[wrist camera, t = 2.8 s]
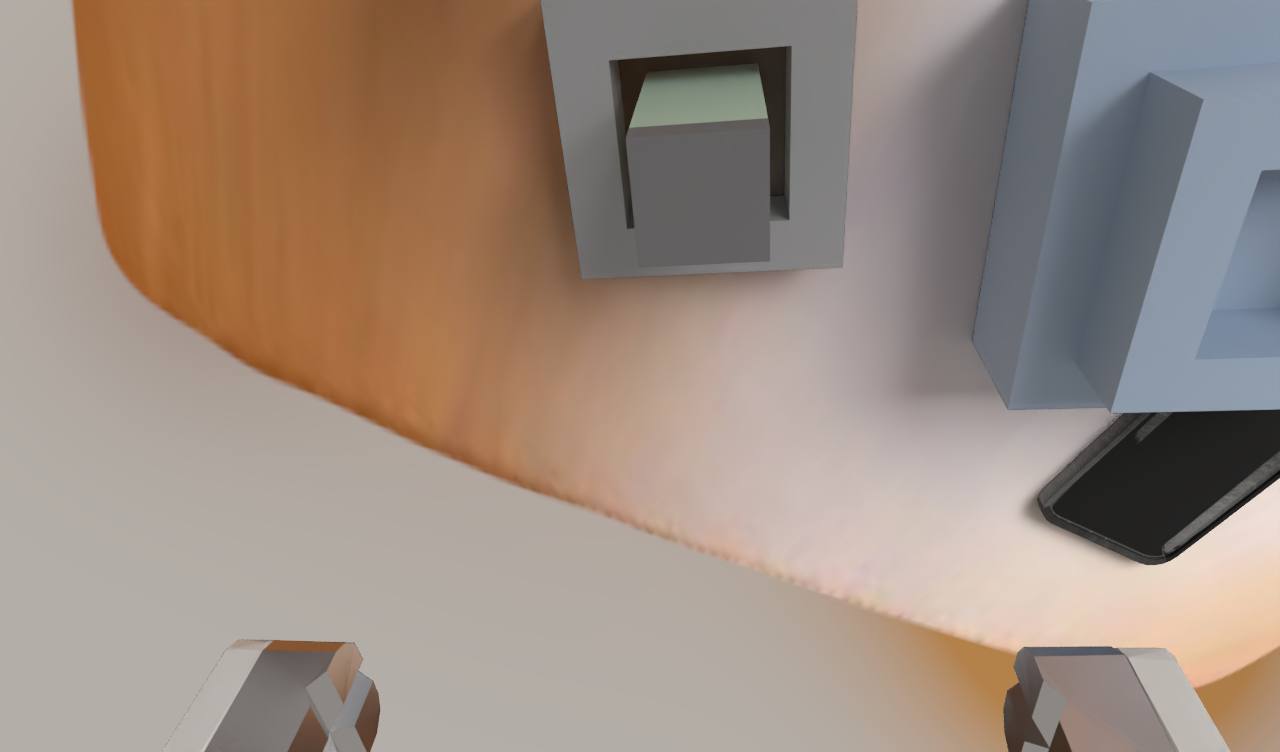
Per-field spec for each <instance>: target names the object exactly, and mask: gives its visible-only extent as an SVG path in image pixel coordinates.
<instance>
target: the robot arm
mask: <svg viewBox="0 0 1280 752" xmlns="http://www.w3.org/2000/svg"><path fill="white" fill-rule="evenodd" d="M362 661H363V657H362V656H361V654H360V652H359V650H358V648H357V646H356V644H355V643H346V642H314V641H313V642H312V641H280V640H237V641H236V642H235V643H234V644H233V645H231V646H230V647H229V648H227V649H226V650H225V652H224V653H223V655H222V656H221V658H220V660H219V661H218V663H217V664H216V666H215V667H214V669H213V671H212V672H211V674H210V675H209V677H208V679H207V680H206V682H205V684H204V685H203V687H202V688H201V690H200V691H199V693H198V695H197V696H196V698H195V699H194V701H193V703H192V704H191V706H190V707H189V709H188V710H187V712H186V714H185V715H184V717H183V719H182V720H181V722H180V723H179V725H178V726H177V728H176V730H175V731H174V733H173V734H172V736H171V738H170V739H169V741H168V742H167V744H166V746H165V747H164V749H163V750H162V752H370V751H371V748H372V745H373V742H374V740H375V737H376V734H377V728H378V722H379V715H380V704H379V695H378V692H377V689H376V687H375V684H374V682H373V681H372V680H371V679H370V678H368V677H367V676H365V675H364V674H362V673H361V672H360V671H358V670H359V668H360V666H361V663H362ZM1014 669H1015V672H1016V675H1017V678H1018V680H1019V683H1017V684H1016V685H1014V686H1013V687H1012V688H1010V689H1009V690H1007V694H1006V699H1005V703H1004V709H1003V711H1004V712H1003V713H1004V732H1005V737H1006V742H1007V747H1008V752H1230V750H1229V748H1228V747H1227V745H1226V743H1225V742H1224V740H1223V738H1222V736H1221V735H1220V733H1219V731H1218V729H1217V728H1216V726H1215V725H1214V723H1213V721H1212V719H1211V718H1210V716H1209V714H1208V712H1207V711H1206V709H1205V707H1204V706H1203V704H1202V702H1201V701H1200V699H1199V697H1198V695H1197V694H1196V692H1195V690H1194V689H1193V687H1192V685H1191V683H1190V682H1189V680H1188V678H1187V677H1186V675H1185V673H1184V672H1183V670H1182V668H1181V666H1180V665H1179V663H1178V661H1177V660H1176V658H1175V657H1174V656H1173V655H1172V654H1171V653H1170V652H1168V651H1167V650H1166V649H1163V648H1112V647H1023V648H1022V649H1021V650H1020V651H1019V652H1018V653H1017V657H1016V660H1015V663H1014Z"/></svg>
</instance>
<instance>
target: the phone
mask: <svg viewBox="0 0 1280 752" xmlns="http://www.w3.org/2000/svg"><path fill="white" fill-rule="evenodd" d="M1279 478H1280V409H1274V410H1230V411H1186V412H1142V413H1124V414H1123V415H1122V416H1121V417H1119V418H1118V419H1117V420H1116V421H1115V422H1114V423H1113V424H1112V425H1111V426H1110V427H1109V428H1108V429H1107V430H1105V431H1104V432H1103V433H1102V434H1101V435H1100V436H1099V437H1098V438H1097V439H1096V440H1095V441H1094V442H1093V443H1091V444H1090V445H1089V446H1088V447H1087V448H1086V449H1085V450H1084V451H1083V452H1082V453H1081V454H1080V455H1079V456H1077V457H1076V458H1075V459H1074V460H1073V461H1072V462H1071V463H1070V464H1069V465H1068V466H1067V467H1066V468H1065V469H1064V470H1062V471H1061V472H1060V473H1059V474H1058V475H1057V476H1056V477H1055V478H1054V479H1053V480H1052V481H1051V482H1050V483H1048V484H1047V485H1046V486H1045V487H1044V488H1043V489H1042V491H1041V492H1040V493H1039V496H1038V499H1037V500H1038V505H1039V507H1040V509H1041V511H1042V513H1043V515H1044V517H1045V518H1046V520H1047V521H1049V522H1050V523H1052V524H1054V525H1056V526H1059V527H1061V528H1063V529H1065V530H1068V531H1070V532H1072V533H1074V534H1077V535H1079V536H1081V537H1083V538H1085V539H1088V540H1090V541H1092V542H1094V543H1097V544H1099V545H1101V546H1103V547H1105V548H1108V549H1110V550H1112V551H1114V552H1117V553H1119V554H1121V555H1123V556H1125V557H1128V558H1130V559H1132V560H1134V561H1137V562H1139V563H1142V564H1145V565H1158V564H1163V563H1166V562H1168V561H1171V560H1172V559H1174V558H1176V557H1177V556H1178V555H1180V554H1181V553H1182V552H1184V551H1185V550H1186V549H1188V548H1189V547H1190V546H1191V545H1193V544H1194V543H1195V542H1197V541H1198V540H1199V539H1201V538H1202V537H1203V536H1205V535H1206V534H1207V533H1208V532H1210V531H1211V530H1212V529H1214V528H1215V527H1216V526H1218V525H1219V524H1220V523H1222V522H1223V521H1224V520H1225V519H1227V518H1228V517H1229V516H1231V515H1232V514H1233V513H1235V512H1236V511H1237V510H1239V509H1240V508H1241V507H1242V506H1244V505H1245V504H1246V503H1248V502H1249V501H1250V500H1252V499H1253V498H1254V497H1255V496H1257V495H1258V494H1259V493H1261V492H1262V491H1263V490H1265V489H1266V488H1267V487H1269V486H1270V485H1271V484H1272V483H1274V482H1275V481H1276V480H1278V479H1279Z"/></svg>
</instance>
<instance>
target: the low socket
mask: <svg viewBox="0 0 1280 752" xmlns="http://www.w3.org/2000/svg"><path fill="white" fill-rule="evenodd" d="M540 1H541V8H542V15H543V21H544V28H545V35H546V42H547V49H548V55H549V62H550V69H551V76H552V82H553V89H554V96H555V103H556V110H557V116H558V123H559V130H560V137H561V143H562V150H563V157H564V164H565V170H566V177H567V184H568V191H569V198H570V204H571V211H572V218H573V225H574V231H575V238H576V245H577V252H578V259H579V265H580V272H581V279H601V278H623V277H645V276H667V275H688V274H710V273H732V272H754V271H776V270H798V269H820V268H842V267H843V251H844V233H845V215H846V197H847V179H848V161H849V144H850V126H851V108H852V90H853V72H854V54H855V37H856V19H857V1H858V0H540ZM784 46H786V109H785V196H770V261H769V262H748V263H727V264H706V265H685V266H664V267H643V268H639V265H638V255H637V245H636V235H635V226H634V216H633V206H632V196H631V186H630V177H629V167H628V157H627V147H626V130H625V120H624V110H623V101H622V91H621V81H620V71H619V61H618V60H621V59H633V58H646V57H658V56H671V55H684V54H696V53H709V52H721V51H734V50H746V49H759V48H771V47H784Z"/></svg>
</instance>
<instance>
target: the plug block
mask: <svg viewBox="0 0 1280 752" xmlns="http://www.w3.org/2000/svg"><path fill="white" fill-rule="evenodd" d="M626 147H627V157H628V167H629V177H630V186H631V196H632V206H633V216H634V226H635V235H636V245H637V255H638V265H639V268H643V267H664V266H685V265H706V264H727V263H748V262H769V261H770V126H769V120H768V115H767V110H766V105H765V99H764V94H763V89H762V84H761V78H760V73H759V68H758V63H755V64H742V65H729V66H717V67H704V68H691V69H678V70H665V71H652V72H647V74H646V77H645V80H644V83H643V86H642V89H641V92H640V95H639V98H638V101H637V104H636V108H635V111H634V114H633V117H632V120H631V123H630V126H629V129H628V132H627V135H626Z"/></svg>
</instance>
